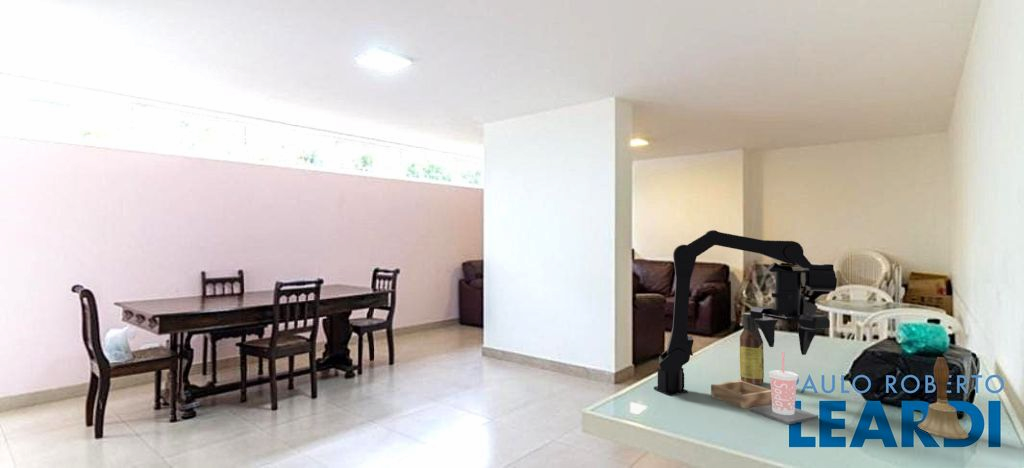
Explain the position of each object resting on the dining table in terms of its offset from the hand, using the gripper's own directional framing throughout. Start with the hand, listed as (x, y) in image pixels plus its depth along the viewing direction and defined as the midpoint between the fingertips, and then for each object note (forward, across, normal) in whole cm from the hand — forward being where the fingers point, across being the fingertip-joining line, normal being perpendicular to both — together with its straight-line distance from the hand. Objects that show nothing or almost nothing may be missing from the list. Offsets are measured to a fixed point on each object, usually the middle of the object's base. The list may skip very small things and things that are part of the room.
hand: (787, 350), depth 129 cm
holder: (+13, +5, +10) cm, 17 cm away
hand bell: (+13, -28, -13) cm, 33 cm away
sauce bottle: (+13, +15, -5) cm, 21 cm away
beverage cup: (+12, -7, +10) cm, 17 cm away
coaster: (+13, -7, +10) cm, 17 cm away
